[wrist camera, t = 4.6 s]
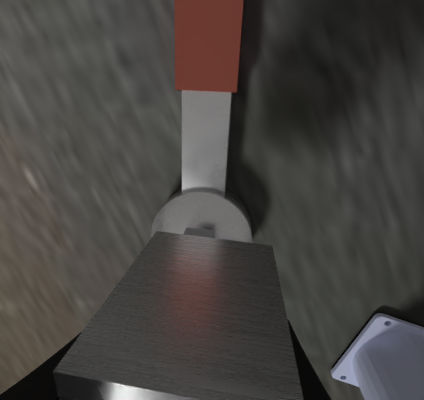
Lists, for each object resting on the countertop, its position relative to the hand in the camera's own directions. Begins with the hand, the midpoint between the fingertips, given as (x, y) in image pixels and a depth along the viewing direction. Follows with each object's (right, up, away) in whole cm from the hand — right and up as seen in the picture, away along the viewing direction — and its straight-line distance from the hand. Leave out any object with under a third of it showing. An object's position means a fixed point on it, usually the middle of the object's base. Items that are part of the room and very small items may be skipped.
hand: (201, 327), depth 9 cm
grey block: (0, +1, +2) cm, 2 cm away
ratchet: (0, +8, +8) cm, 11 cm away
